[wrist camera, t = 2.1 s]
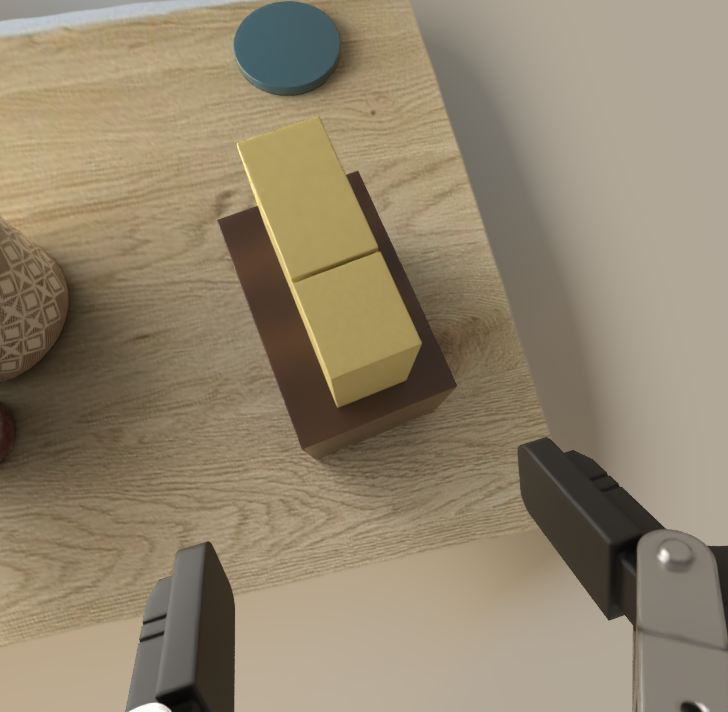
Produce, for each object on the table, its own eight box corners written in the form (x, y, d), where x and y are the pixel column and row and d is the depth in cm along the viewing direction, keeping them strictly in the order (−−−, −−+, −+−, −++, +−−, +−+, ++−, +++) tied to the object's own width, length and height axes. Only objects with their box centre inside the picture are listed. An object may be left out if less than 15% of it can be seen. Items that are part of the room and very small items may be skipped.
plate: (289, -7, 51) (288, -17, 50) (362, 51, 50) (362, 42, 49) (214, 52, 50) (211, 43, 49) (287, 114, 48) (285, 106, 47)
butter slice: (406, 380, 31) (422, 343, 24) (337, 408, 31) (330, 379, 23) (375, 307, 33) (380, 250, 25) (307, 333, 32) (291, 283, 24)
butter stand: (434, 411, 41) (457, 386, 31) (315, 459, 40) (302, 449, 30) (358, 240, 45) (358, 170, 35) (247, 280, 44) (216, 219, 34)
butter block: (374, 305, 33) (378, 246, 25) (306, 330, 32) (290, 279, 24) (327, 199, 34) (319, 115, 27) (263, 222, 34) (235, 142, 26)
